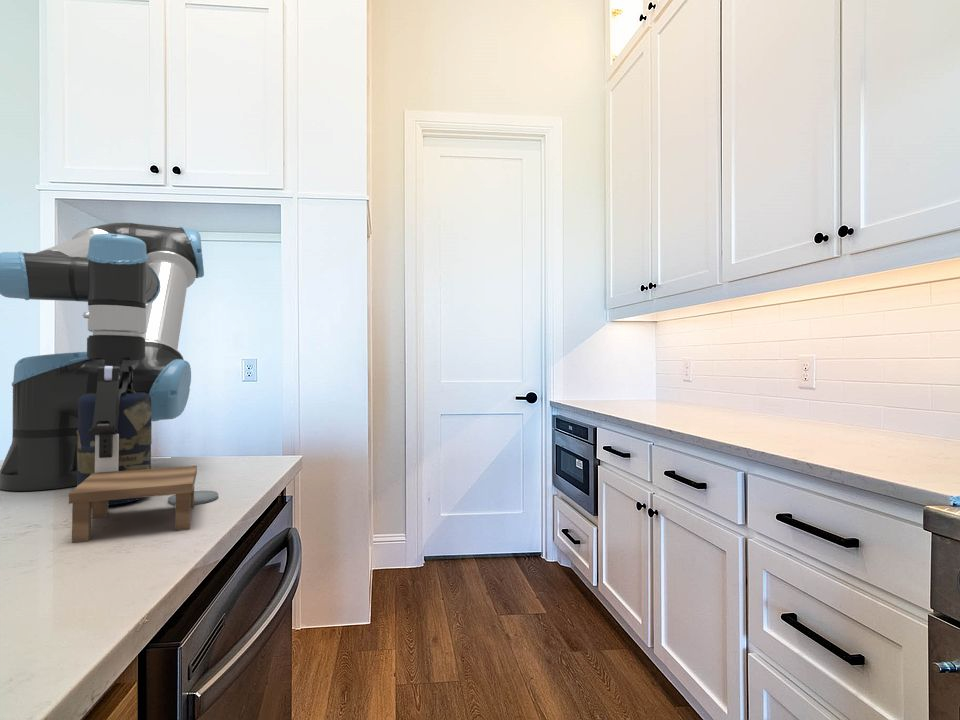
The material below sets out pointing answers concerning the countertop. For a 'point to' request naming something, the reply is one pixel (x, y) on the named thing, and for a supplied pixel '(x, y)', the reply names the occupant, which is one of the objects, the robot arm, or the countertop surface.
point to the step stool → (130, 494)
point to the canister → (131, 435)
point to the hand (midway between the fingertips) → (115, 471)
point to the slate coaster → (198, 497)
